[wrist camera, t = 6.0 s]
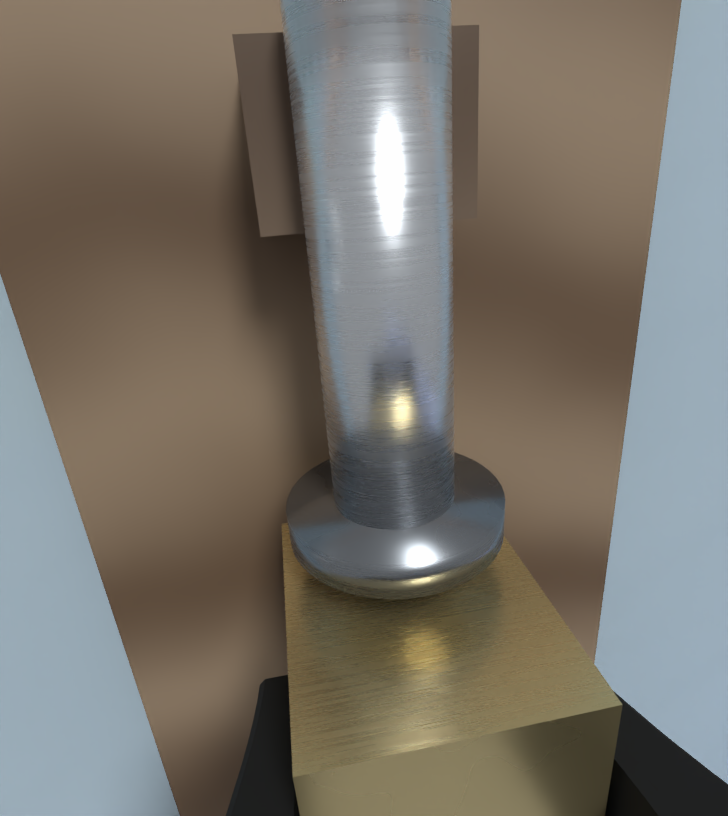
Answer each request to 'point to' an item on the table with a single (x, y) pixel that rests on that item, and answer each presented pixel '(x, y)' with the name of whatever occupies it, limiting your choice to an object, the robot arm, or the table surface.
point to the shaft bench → (308, 309)
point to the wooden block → (444, 701)
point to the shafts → (383, 303)
